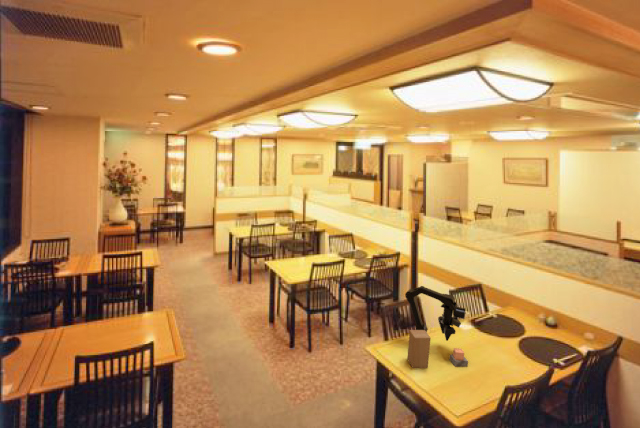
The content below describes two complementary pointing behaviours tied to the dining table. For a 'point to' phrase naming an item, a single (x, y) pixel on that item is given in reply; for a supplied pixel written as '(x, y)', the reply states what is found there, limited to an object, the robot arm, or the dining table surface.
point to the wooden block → (418, 348)
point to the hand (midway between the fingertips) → (445, 336)
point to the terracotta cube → (458, 354)
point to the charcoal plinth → (458, 362)
